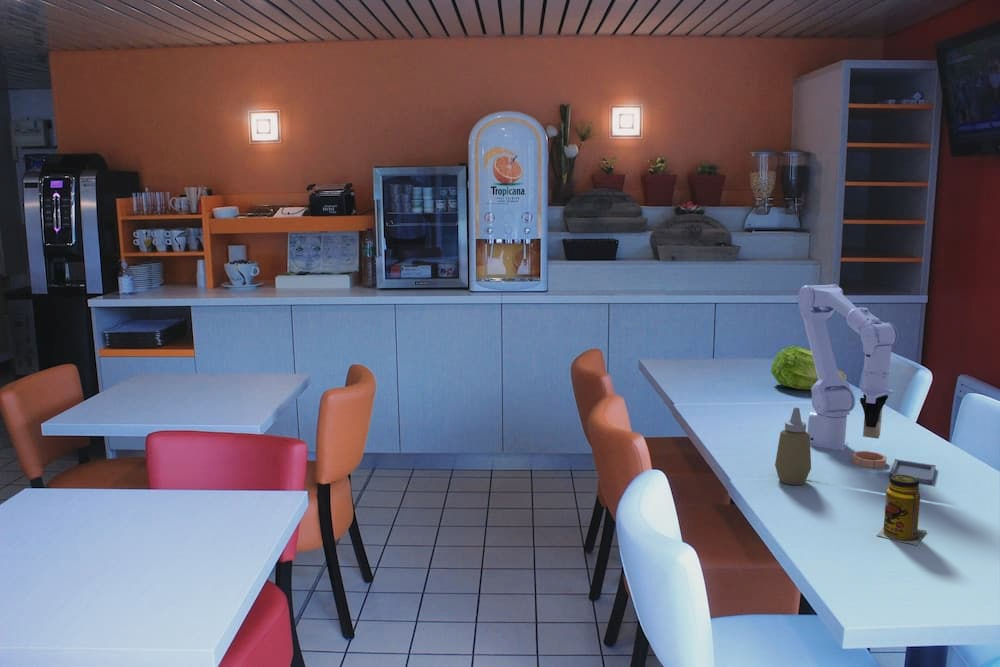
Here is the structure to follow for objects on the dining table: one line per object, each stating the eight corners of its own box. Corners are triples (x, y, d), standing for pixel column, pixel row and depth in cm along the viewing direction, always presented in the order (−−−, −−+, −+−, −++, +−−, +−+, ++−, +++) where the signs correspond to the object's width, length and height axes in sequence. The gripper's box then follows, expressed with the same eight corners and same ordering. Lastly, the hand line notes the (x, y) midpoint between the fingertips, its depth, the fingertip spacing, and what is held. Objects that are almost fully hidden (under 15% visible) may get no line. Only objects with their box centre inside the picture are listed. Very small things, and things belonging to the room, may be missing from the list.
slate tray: (888, 479, 189) (889, 473, 189) (894, 464, 199) (894, 459, 199) (931, 486, 185) (932, 480, 184) (935, 471, 195) (935, 465, 194)
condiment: (876, 536, 159) (881, 479, 156) (888, 522, 165) (892, 467, 163) (916, 546, 154) (921, 487, 152) (926, 532, 160) (932, 475, 158)
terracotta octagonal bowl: (850, 466, 199) (851, 457, 198) (855, 457, 205) (855, 449, 204) (883, 471, 195) (884, 462, 194) (887, 462, 201) (887, 454, 201)
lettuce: (828, 395, 286) (838, 413, 271) (763, 371, 287) (770, 387, 272) (847, 360, 281) (859, 375, 266) (781, 335, 282) (790, 349, 267)
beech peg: (862, 436, 198) (865, 405, 196) (864, 432, 201) (867, 402, 199) (878, 438, 196) (880, 407, 195) (880, 435, 199) (882, 404, 198)
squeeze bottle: (793, 489, 183) (797, 414, 180) (766, 478, 190) (770, 406, 187) (817, 483, 187) (822, 409, 184) (790, 473, 194) (795, 401, 191)
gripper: (890, 379, 187) (886, 434, 190) (897, 367, 200) (893, 420, 202) (858, 376, 191) (854, 430, 193) (866, 364, 203) (862, 416, 206)
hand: (872, 424), depth 198 cm, fingers closed on beech peg, 3 cm apart
